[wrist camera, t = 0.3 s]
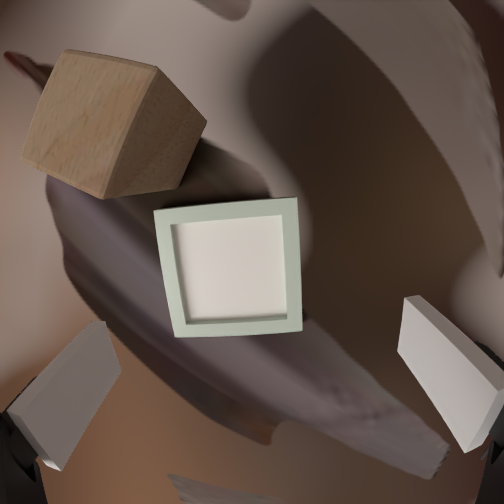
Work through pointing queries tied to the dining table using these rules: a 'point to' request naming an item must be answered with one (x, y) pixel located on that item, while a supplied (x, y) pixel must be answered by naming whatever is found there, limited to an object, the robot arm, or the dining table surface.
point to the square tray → (232, 267)
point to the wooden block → (112, 127)
